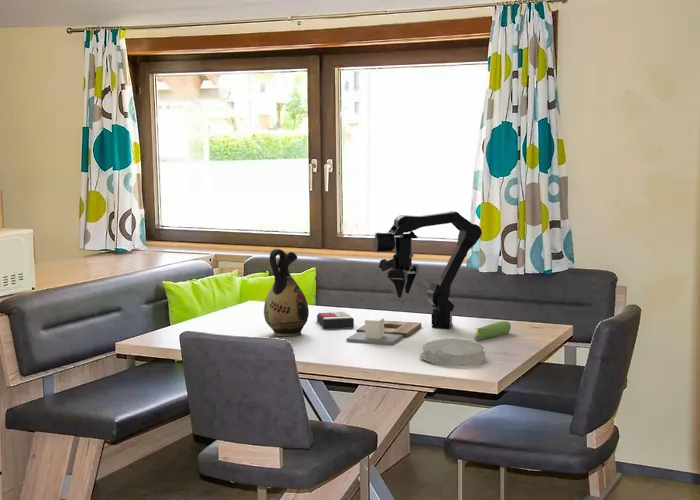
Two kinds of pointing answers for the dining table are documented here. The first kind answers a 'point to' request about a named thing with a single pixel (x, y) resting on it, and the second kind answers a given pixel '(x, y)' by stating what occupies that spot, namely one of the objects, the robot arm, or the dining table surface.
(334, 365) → the dining table surface
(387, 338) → the grey mat
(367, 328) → the white block
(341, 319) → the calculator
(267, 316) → the ceramic jug
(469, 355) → the grey stone disc
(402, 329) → the pocket plate
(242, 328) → the dining table surface
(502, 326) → the edible corn
